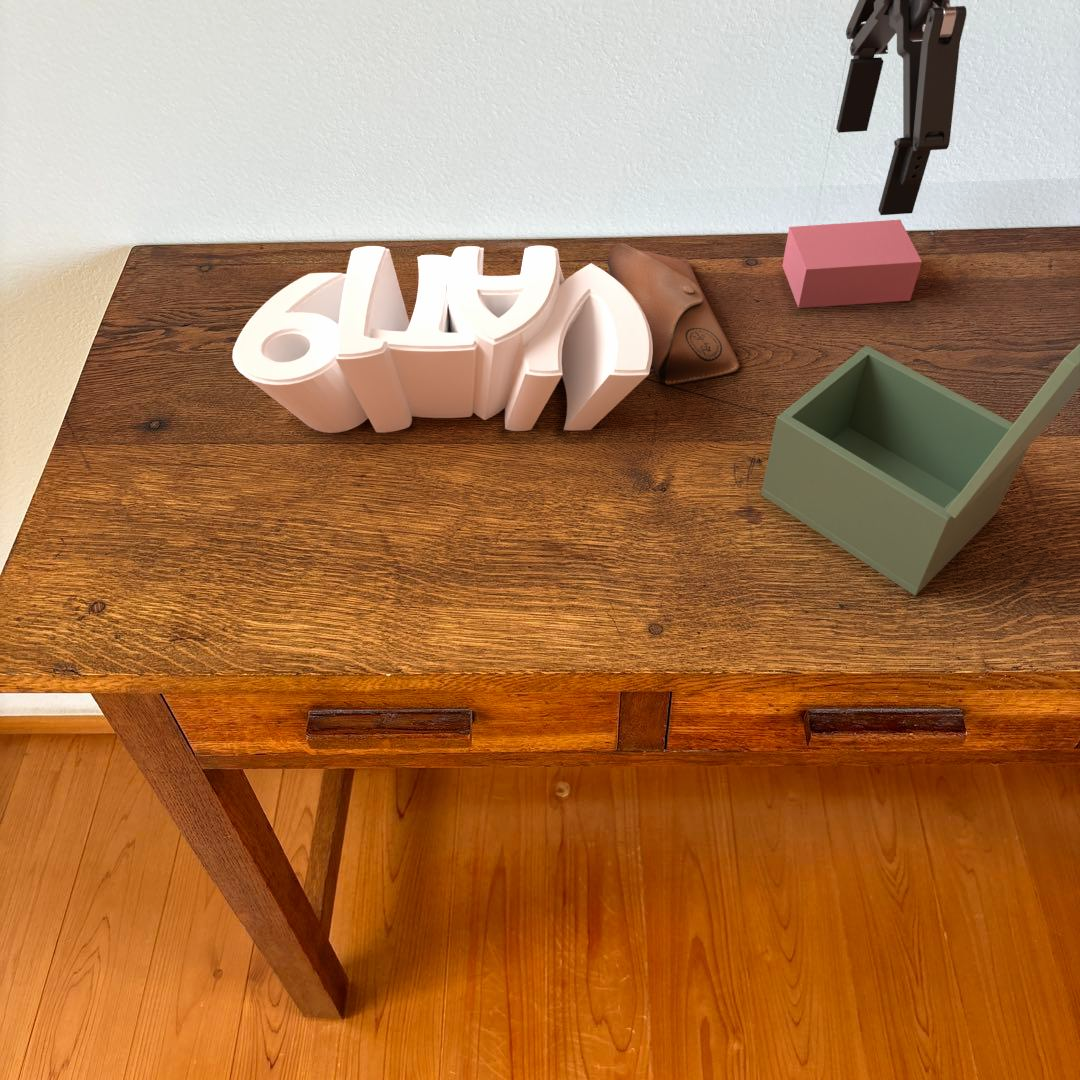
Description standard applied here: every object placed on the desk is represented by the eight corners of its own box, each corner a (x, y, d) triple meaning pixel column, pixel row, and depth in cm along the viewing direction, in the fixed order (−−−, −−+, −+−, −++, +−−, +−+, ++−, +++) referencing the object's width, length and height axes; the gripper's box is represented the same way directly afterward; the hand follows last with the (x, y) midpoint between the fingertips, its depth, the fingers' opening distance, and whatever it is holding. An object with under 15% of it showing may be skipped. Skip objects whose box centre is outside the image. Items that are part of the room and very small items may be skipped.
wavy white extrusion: (648, 337, 96) (655, 241, 88) (646, 463, 86) (653, 367, 78) (287, 328, 99) (261, 233, 90) (242, 449, 88) (208, 354, 80)
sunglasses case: (747, 367, 92) (718, 323, 87) (681, 408, 94) (649, 367, 89) (685, 254, 103) (656, 210, 99) (627, 293, 105) (595, 251, 101)
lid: (1064, 358, 56) (1076, 366, 56) (1160, 267, 61) (1172, 274, 61) (945, 512, 69) (954, 519, 69) (1032, 426, 74) (1041, 433, 74)
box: (760, 495, 83) (776, 416, 76) (844, 424, 88) (866, 344, 81) (915, 596, 76) (948, 520, 69) (996, 513, 81) (1034, 434, 74)
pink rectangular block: (889, 258, 103) (900, 219, 100) (910, 300, 99) (922, 261, 95) (782, 265, 103) (789, 226, 99) (798, 308, 98) (806, 269, 95)
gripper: (843, -153, 82) (797, 102, 98) (945, -25, 66) (870, 254, 82) (934, -158, 82) (873, 97, 98) (1058, -31, 66) (961, 248, 83)
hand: (872, 169), depth 90 cm, fingers open, 13 cm apart
